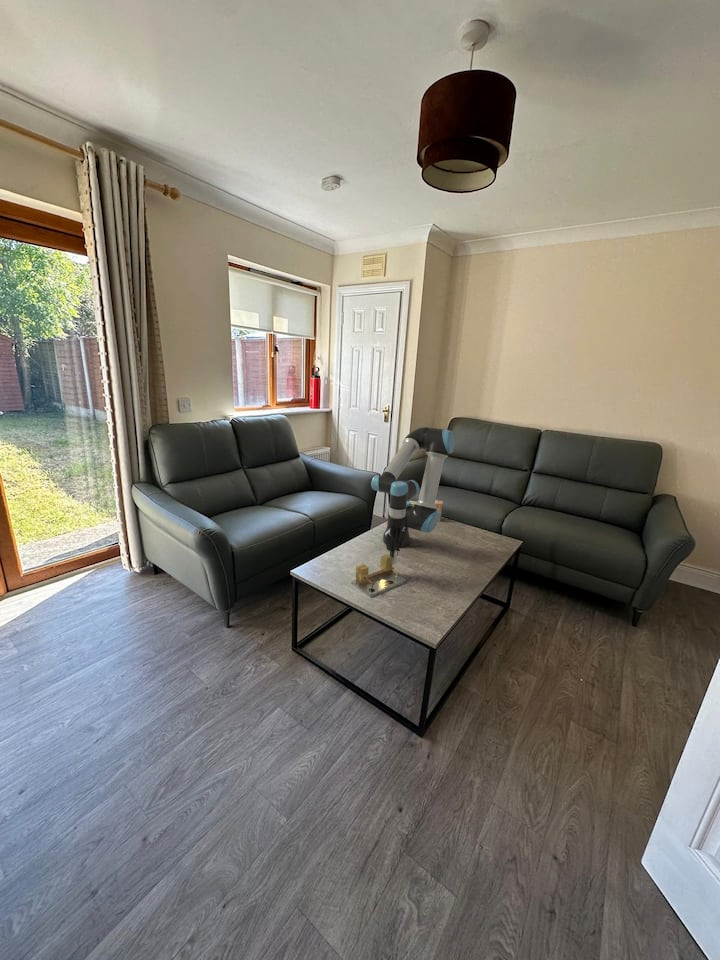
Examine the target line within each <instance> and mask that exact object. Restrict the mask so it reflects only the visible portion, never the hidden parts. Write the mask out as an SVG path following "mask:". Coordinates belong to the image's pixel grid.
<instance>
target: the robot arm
mask: <svg viewBox="0 0 720 960" xmlns="http://www.w3.org/2000/svg"><path fill="white" fill-rule="evenodd" d="M454 435H455V434H454V433H453V431H451V430H449V429H445V428H436V427H428V426H422V427H419V428H416V429H414V430H412V431H411V432H409V433H408V434H407V435H406V436H405V437H404V439H403V440H402V445H401V446H400V448H399V449H398V451H397V452H396V453H395V454H394V456H393V458H392V459H391V461H390V462H389V463H388V465H387V466H386V468H385V469H384V471H383V472H382V474H380V475H379V474H376V475H374V476H373V477H372V479H371V482H370V485H371V489H372V490H373V491H375V492H379V493H384V494H389V504H388V507H387V519H386V520H387V521H386V522H387V524H386V529H385V531H384V532H383V535H382V536H383V537H382V542H383V543H384V544H385V545H386V550H387V551H388V552H389V555H390V556H391V557H393V563H392V565H394V566H395V565H397V561H398V560H397V559H398V558H397V557H398V555H399V552H400V551H401V549H402V548H404V547H405V548H406V547H408V546H409V545H410V544H411V535H410V531H409V530H410V529H412V530H416V531H420V532H422V533H423V532H424V533H428V534H429V533H431V532H433V531H434V530H435V528H436V527H437V523H438V518H439V517H438V516H439V513H438V512H436V509H437V508H436V506H435V500H437V499H436V498H437V495H438V489H439V484H440V482H441V481H440V480H441V475H442V472H443V466H444V462H445V461H446V459H447V458H449V454H453V452H454V449H455V442H456V439H455V436H454ZM419 450H425V454H426V455H427V459H426V464H425V469H424V472H423V473H424V474H423V478H422V481H421V482H422V483H421V486H420V485H419V483H418V482H417V481H416V480H414V479H410V480H403V479H402V480H401V479H398V478H399V477H400V475H401V474H402V473H403V471H404V469H405V468H406V466H407V465H408V463H409V461H410V460H411V459H412V457H413V456H414V455H415V453H417V452H419ZM420 487H421V488H420ZM418 493H419V495H418V500H416V503H415V504H414V506H411V503H410V502H409V501H410V500H409V499H411V498H414V497H416V495H417V494H418Z"/></svg>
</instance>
